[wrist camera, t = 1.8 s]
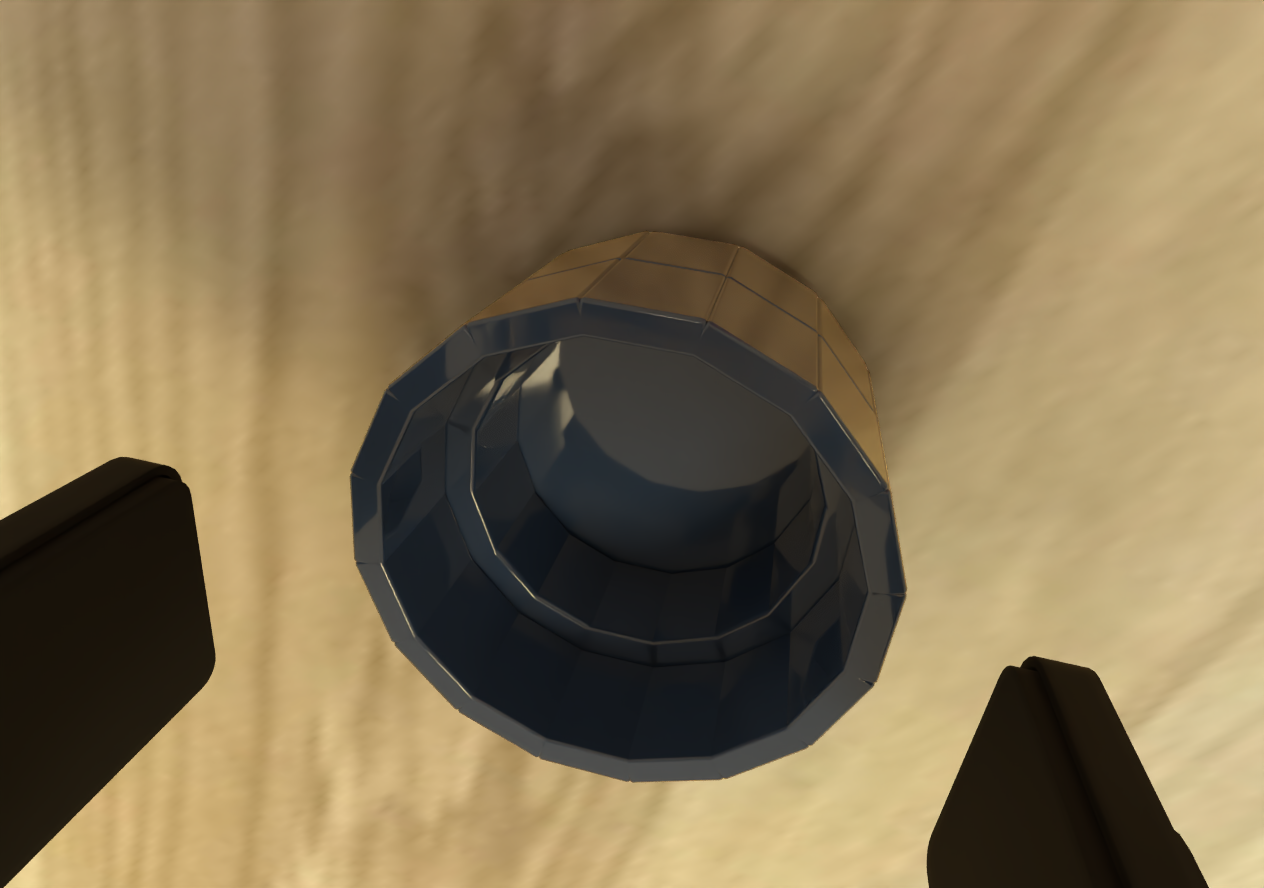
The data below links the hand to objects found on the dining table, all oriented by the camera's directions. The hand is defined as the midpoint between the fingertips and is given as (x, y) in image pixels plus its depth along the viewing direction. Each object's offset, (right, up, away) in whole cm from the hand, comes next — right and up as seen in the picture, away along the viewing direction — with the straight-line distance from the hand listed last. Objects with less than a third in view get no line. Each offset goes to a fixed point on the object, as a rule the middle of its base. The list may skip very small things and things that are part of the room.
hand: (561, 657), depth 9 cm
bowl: (+1, +3, +5) cm, 6 cm away
